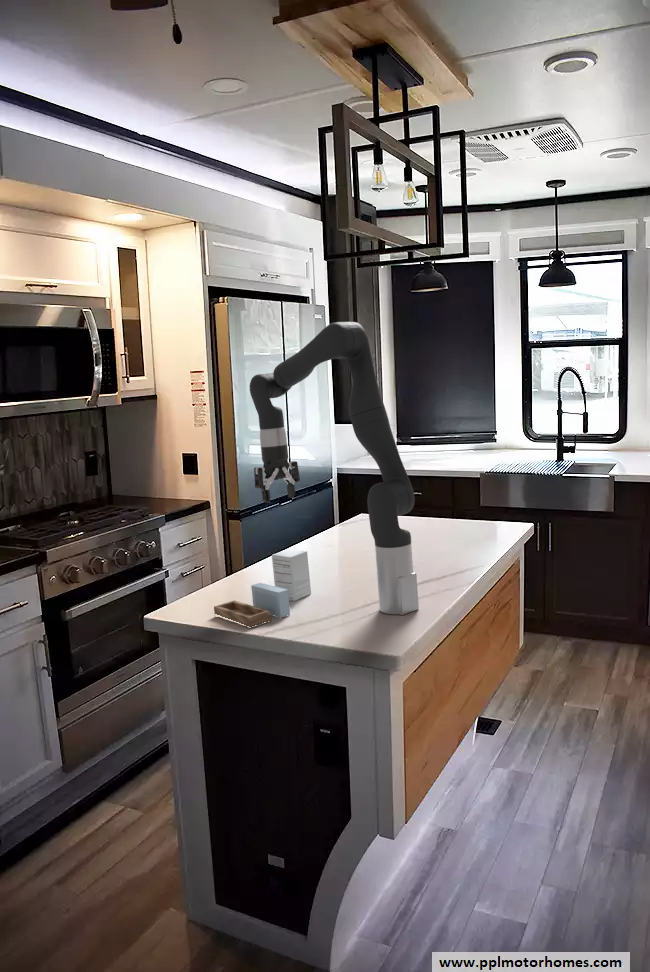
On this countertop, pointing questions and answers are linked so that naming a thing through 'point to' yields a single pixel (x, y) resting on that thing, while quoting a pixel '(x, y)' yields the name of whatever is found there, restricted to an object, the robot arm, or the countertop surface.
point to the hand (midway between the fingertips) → (279, 500)
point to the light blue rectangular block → (271, 599)
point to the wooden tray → (243, 613)
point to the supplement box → (292, 573)
